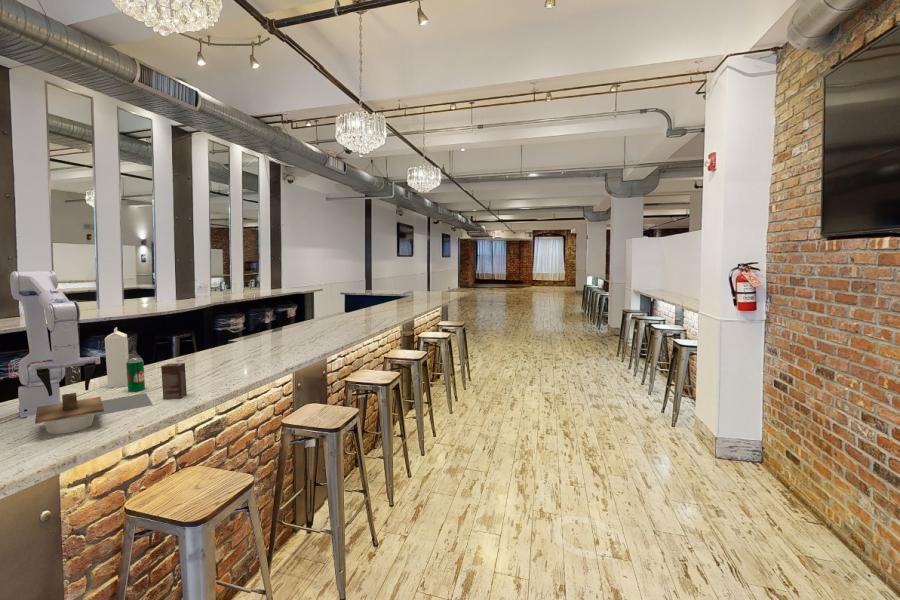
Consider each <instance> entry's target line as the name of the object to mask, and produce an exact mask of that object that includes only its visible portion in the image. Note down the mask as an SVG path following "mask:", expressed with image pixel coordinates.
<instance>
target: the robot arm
mask: <svg viewBox="0 0 900 600" xmlns="http://www.w3.org/2000/svg"><path fill="white" fill-rule="evenodd" d="M9 285H10V292H11V296H12V298H13V300H17V301H20V303H21V305H22V308H23V314H24V322H25V327H26V328H25V329H26V330H25V331H26V335H27V336H26V337H27V342H28V349H29V353H28V354H27V355H25V356H24V357H23V358H21V359H20V360H19V362H18V379H19V382H20V384H21V386H18V389H17V390H18V394H17V395H18V403H19V404H18V411H19V415H20V417H19V418H21V419H23V418H27V417H29V416H34V415H35V416H36V411H37V407H40V406H46V405H52V404H59V403H62V402H61V401H62V400H61V391H60V382H61V381H62V380H63V379H64V377H65V376H66V368H71V367H78V366H79V367H81V366H83V367H84V390H85V391H89V388H90V382H91V378H92V376H93V374H94V372H95V369H96V367H97V366H96V365H100V364H101V357H100V356H99V355H96V356H85V357H81V356H80V344H79V342H80V341H79V332H78V331H79V329H78V322H79V321H80V319H81V310H80V306H79V303H78V302H77V301H76V300H72V301H71V300H69V298H68V297H67V295H65V293H64V292H63V291H62V290H59V289H58V287H59V279H58V275H57V273H56V272H54V270H49V271H48V270H46V271H45V270H42V271H35V270H34V271H16V270H14V271H12V272H11V273H10V275H9ZM48 330H49V332H50V333H48ZM49 334H50V335H49ZM49 336H50V340H49ZM50 345H51V347H50ZM22 385H23V386H22Z"/></svg>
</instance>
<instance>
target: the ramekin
mask: <svg viewBox="0 0 900 600" xmlns="http://www.w3.org/2000/svg"><path fill="white" fill-rule="evenodd" d="M94 418H95V416H94V413H92V414H87V415H81V416H76V417H70V418H65V419H59V420H54V421H49V422H44V425H45V429H46V431H47V433H49V434H51V435H59V434H60V435H61V434H68V433H73V432H77V431H81V430H84V429H87V428H89V427H90V426H92V425H93V422H94Z"/></svg>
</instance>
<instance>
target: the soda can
mask: <svg viewBox="0 0 900 600" xmlns="http://www.w3.org/2000/svg"><path fill="white" fill-rule="evenodd" d="M144 365H145V363H144V360H143V358H142V357H129V359H127V362H126V369H127V384H128V386H127V391H128V392H129V393H137V392H141V391H145V389H146V382H145V380H146V379H145V366H144Z"/></svg>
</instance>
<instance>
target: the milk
mask: <svg viewBox="0 0 900 600" xmlns="http://www.w3.org/2000/svg"><path fill="white" fill-rule="evenodd" d="M128 341H129V340H128V334H127V333H124V332H121V331H119V330H118V327H117V326H116V327H114V329H113V332H112V333H110V334H108V335H107V336H106V337H105V338H104V347H105V348H104V349H105V351H104V352H105V362H106V376H107V387H108V389H111V388H110V387H116V388H121V387H122V388H124V387H123V386H125V387H128V384H127V369H126V362H127V359H130V357H129V343H128Z"/></svg>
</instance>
